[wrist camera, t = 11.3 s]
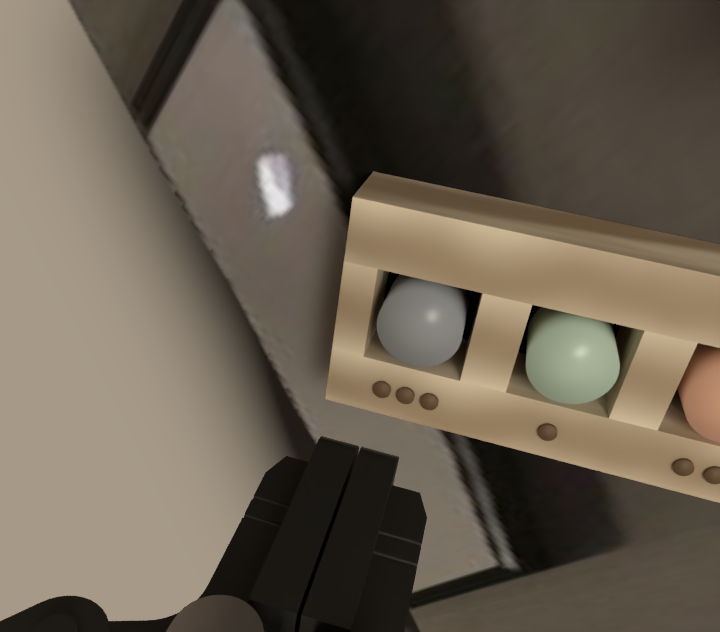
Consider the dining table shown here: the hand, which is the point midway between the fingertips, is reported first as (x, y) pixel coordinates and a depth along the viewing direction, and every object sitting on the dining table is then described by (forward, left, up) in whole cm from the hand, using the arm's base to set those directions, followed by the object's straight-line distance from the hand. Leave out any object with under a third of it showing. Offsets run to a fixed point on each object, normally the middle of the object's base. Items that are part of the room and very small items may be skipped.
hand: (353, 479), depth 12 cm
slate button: (+7, 0, -20) cm, 21 cm away
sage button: (+7, +7, -20) cm, 22 cm away
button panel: (+7, +7, -22) cm, 24 cm away
